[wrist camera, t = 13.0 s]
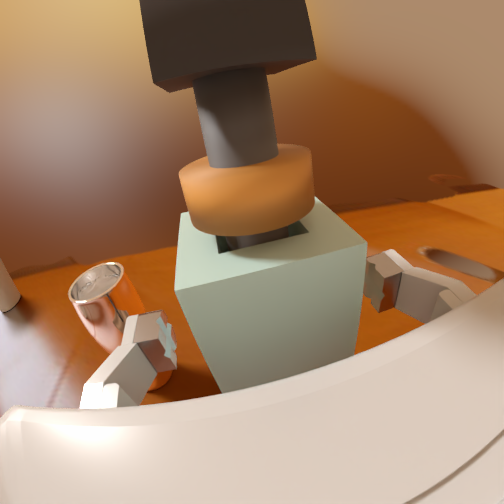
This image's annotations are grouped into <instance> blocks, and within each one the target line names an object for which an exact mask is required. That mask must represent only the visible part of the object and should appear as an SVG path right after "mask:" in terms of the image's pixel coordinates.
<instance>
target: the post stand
mask: <svg viewBox="0 0 504 504" xmlns="http://www.w3.org/2000/svg"><path fill="white" fill-rule="evenodd" d="M140 7H141V15H142V21H143V28H144V34H145V40H146V46H147V52H148V57H149V63H150V68H151V73H152V79H153V83H154V84H156V85H157V86H159V87H161V88H163V89H164V90H166V91H167V92H169V93H170V92H175V91H178V90H182V89H187V88H191V87H193V89H194V94H195V99H196V104H197V109H198V114H199V119H200V123H201V128H202V133H203V138H204V142H205V147H206V152H207V157H204V158H201V159H199V160H196V161H194V162H192V163H190V164H188V165H187V166H185V167H184V168H182V169H181V170H180V172H179V178H180V181H181V185H182V189H183V193H184V197H185V200H186V204H187V207H188V211H189V215H190V219H191V222H192V224H193V226H194V227H195V228H196V229H198V230H199V231H201V232H204V233H207V234H211V235H217V236H226V240H227V245H228V249H229V251H233V250H237V249H242V248H246V247H250V246H254V245H258V244H263V243H267V242H271V241H275V240H279V239H284V238H288V237H289V232H288V225H290V224H292V223H294V222H296V221H298V220H300V219H302V218H303V217H305V216H306V215H307V214H308V213H310V211H311V210H312V209H313V207H314V205H315V195H314V182H313V171H312V160H311V152H310V150H309V149H308V148H306V147H303V146H299V145H292V144H277V138H276V132H275V125H274V119H273V113H272V106H271V100H270V94H269V88H268V82H267V76H266V75H269V74H276V73H278V72H281V71H284V70H287V69H289V68H292V67H295V66H297V65H301V64H303V63H307V62H310V61H313V60H316V52H315V46H314V41H313V36H312V31H311V26H310V21H309V16H308V12H307V7H306V3H305V0H140ZM216 395H218V394H216ZM211 396H212V395H211ZM206 397H207V396H206ZM200 398H201V397H200Z"/></svg>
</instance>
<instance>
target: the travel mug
mask: <svg viewBox="0 0 504 504" xmlns="http://www.w3.org/2000/svg"><path fill="white" fill-rule="evenodd" d="M19 299H20V293H19V291H18V290H17V288H16V286H15V284H14V283H13V281H12V279H11V277H10V276H9V274H8V272H7V270H6V268H5V266H4V264H3V262H2V261H1V259H0V310H1V312H7V311H9V310H10V309H12V308H13V307H14V306H15V305H16V304H17V303H18V301H19Z"/></svg>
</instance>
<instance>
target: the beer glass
mask: <svg viewBox="0 0 504 504" xmlns="http://www.w3.org/2000/svg"><path fill="white" fill-rule="evenodd" d="M68 296H69V299H70V300H71V302H72V304H73V306H74V308H75V310H76V312H77V314H78V316H79V318H80V319H81V321H82V323H83V324H84V326H85V328H86V329H87V331H88V332H89V333H90V335H91V336H92V337H93V339H94V340H95V341H96V342H97V343H98V344H99V345H100V346H101V347H102V348H103V349H104V350H105V351H106V352H107V353H108V354H109V355H111V353H112V352H113V351H114V350H115V349H116V348H117V347H118V346H121V343H122V338H123V333H124V328H125V324H126V319H127V317H128V316H132V315H137V314H142V313H146V311H145V308H144V306H143V304H142V301H141V299H140V297H139V295H138V293H137V292H136V290H135V288H134V286H133V284H132V283H131V281H130V279H129V277H128V276H127V274H126V272H125V270H124V268H123V266H122V265H121V264H119V263H116V262H108V263H103V264H100V265H97V266H95V267H92V268H91V269H89V270H87V271H86V272H84V273H83V274H81V275H80V276H79V277H78V278H77V279H76V280H75V281H74V282H73V284H72V285H71V287H70V289H69V292H68ZM171 374H172V370H168V371H163V372H158V373H157V375H156V377H155V379H154V380H153V382H152V384H151V386H150V387H149V389H148V391H153V390H156V389H158V388H160V387H162V386H163V385H164V384H166V383H167V381H168V380H169V379H170V377H171Z"/></svg>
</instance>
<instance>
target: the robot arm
mask: <svg viewBox="0 0 504 504" xmlns="http://www.w3.org/2000/svg"><path fill="white" fill-rule="evenodd" d="M363 294H364V295H365V296H366V297H368V298H371V304H372V305H373V306H374V308H375V309H376V310H377V312H378V313H380V312H383V311H386V310H388V309H391V308H394V307H395V308H396V309H398V310H400V311H402V312H404V313H406V314H408V315H410V316H411V317H413V318H415V319H417V320H419V321H421V322H423V323H425V325H423V326H420V327H418V328H416V329H414V330H412V331H410V332H408V333H406V334H404V335H402V336H399V337H397V338H395V339H393V340H390V341H388V342H386V343H384V344H381V345H379V346H376V347H374V348H372V349H369V350H367V351H364V352H362V353H359V354H357V355H354V356H351V357H349V358H346V359H343V360H340V361H338V362H335V363H332V364H329V365H326V366H323V367H320V368H317V369H314V370H311V371H308V372H305V373H302V374H298V375H295V376H291V377H288V378H285V379H281V380H277V381H274V382H270V383H266V384H262V385H258V386H254V387H250V388H246V389H241V390H237V391H232V392H228V393H223V394H218V395H212V396H207V397H201V398H195V399H189V400H183V401H176V402H168V403H160V404H151V405H141V406H139V405H140V403H141V401H142V400H143V398H144V396H145V394H146V393H147V391H148V389H149V387H150V386H151V384H152V382H153V380H154V379H155V377H156V375H157V373H158V372H163V371H168V370H174V369H177V356H176V354H175V352H174V350H175V349H176V347H177V341H176V336H175V332H174V330H173V327H172V325H170V324H169V323H167V315H166V313H165V312H164V311H163V310H158V311H153V312H147V313H142V314H137V315H132V316H128V317H127V319H126V324H125V328H124V333H123V338H122V343H121V346H118V347H117V348H116V349H115V350H114V351H113V352H112V353H111V355H110V356H109V357H108V358H107V359H106V360H105V361H104V363H103V364H102V365H101V366H100V367H99V368H98V369H97V371H96V372H95V373H94V374H93V375H92V376H91V378H90V379H89V380H88V381H87V382H86V383H85V385H84V389H83V394H82V399H81V404H80V408H44V407H30V406H22V405H15V406H12V407H11V408H10V409H9V410H8V411H7V412H5V413H4V414H3V416H2V417H1V418H0V504H504V278H503V279H501V280H500V281H498V282H497V283H495V284H494V285H492V286H491V287H489V288H488V289H486V290H485V291H483V292H482V293H480V294H478V295H476V294H475V293H473V292H472V291H471V290H470V289H469V288H468V287H467V286H466V285H465V284H464V283H463V282H462V281H460V280H456V279H453V278H450V277H447V276H444V275H441V274H438V273H434V272H431V271H428V270H425V269H422V268H418V267H415V268H414V267H413V266H411V265H410V264H409V263H408V262H407V261H406V260H405V259H404V258H403V257H401V256H400V255H399V254H398V253H397V252H396V251H395V250H392V249H390V250H387V251H384V252H382V253H379V254H376V255H373V256H369V257H366V267H365V278H364V288H363Z"/></svg>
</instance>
